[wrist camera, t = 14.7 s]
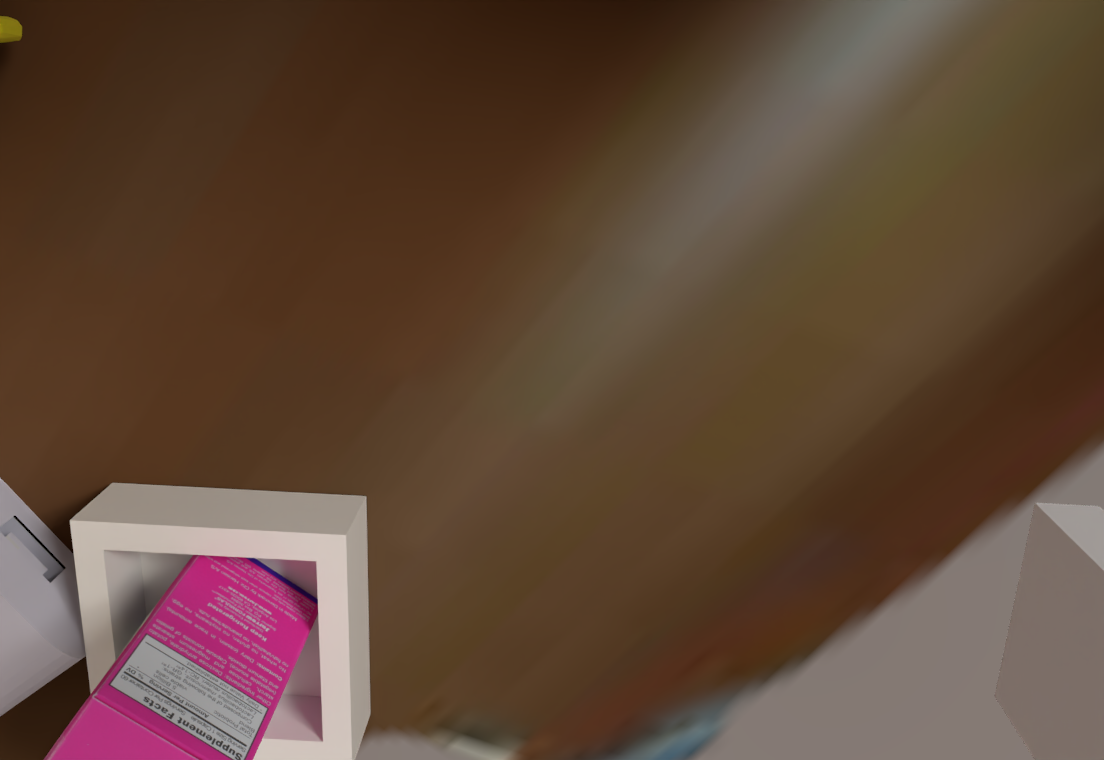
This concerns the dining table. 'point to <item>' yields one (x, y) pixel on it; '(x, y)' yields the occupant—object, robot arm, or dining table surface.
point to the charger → (34, 604)
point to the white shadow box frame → (253, 532)
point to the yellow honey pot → (9, 29)
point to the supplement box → (198, 669)
